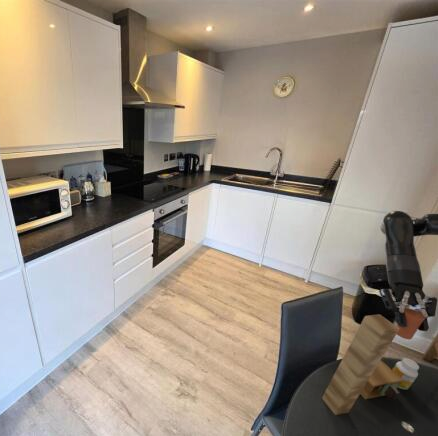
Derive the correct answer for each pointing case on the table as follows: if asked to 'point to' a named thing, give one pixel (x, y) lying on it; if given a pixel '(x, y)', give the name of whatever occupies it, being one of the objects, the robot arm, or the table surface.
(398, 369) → the supplement bottle
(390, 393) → the green toy piece
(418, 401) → the table surface
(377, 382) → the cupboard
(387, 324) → the column
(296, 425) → the table surface
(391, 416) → the table surface
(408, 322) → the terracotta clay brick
